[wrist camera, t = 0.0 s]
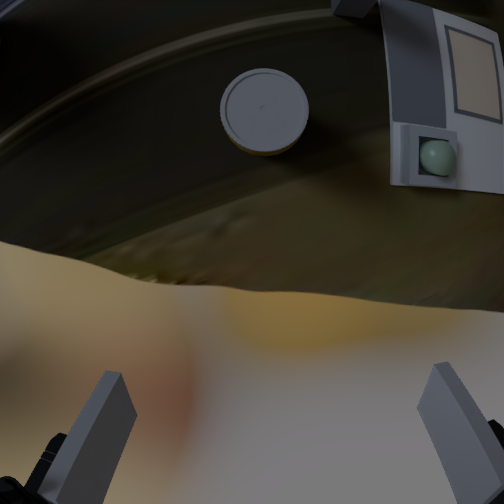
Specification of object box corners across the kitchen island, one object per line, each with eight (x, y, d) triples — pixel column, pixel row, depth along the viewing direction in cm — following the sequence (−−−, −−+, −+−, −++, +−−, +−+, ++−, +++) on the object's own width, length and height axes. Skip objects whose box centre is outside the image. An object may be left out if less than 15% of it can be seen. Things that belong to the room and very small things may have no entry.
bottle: (297, 99, 33) (319, 70, 18) (290, 157, 35) (308, 164, 21) (237, 93, 33) (220, 58, 18) (230, 150, 35) (208, 152, 21)
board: (377, -3, 27) (386, -14, 23) (494, 34, 26) (507, 29, 22) (389, 184, 35) (401, 188, 32) (503, 193, 34) (518, 198, 31)
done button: (416, 138, 31) (429, 138, 28) (442, 142, 31) (456, 142, 28) (415, 171, 32) (428, 174, 29) (442, 173, 32) (455, 176, 29)
